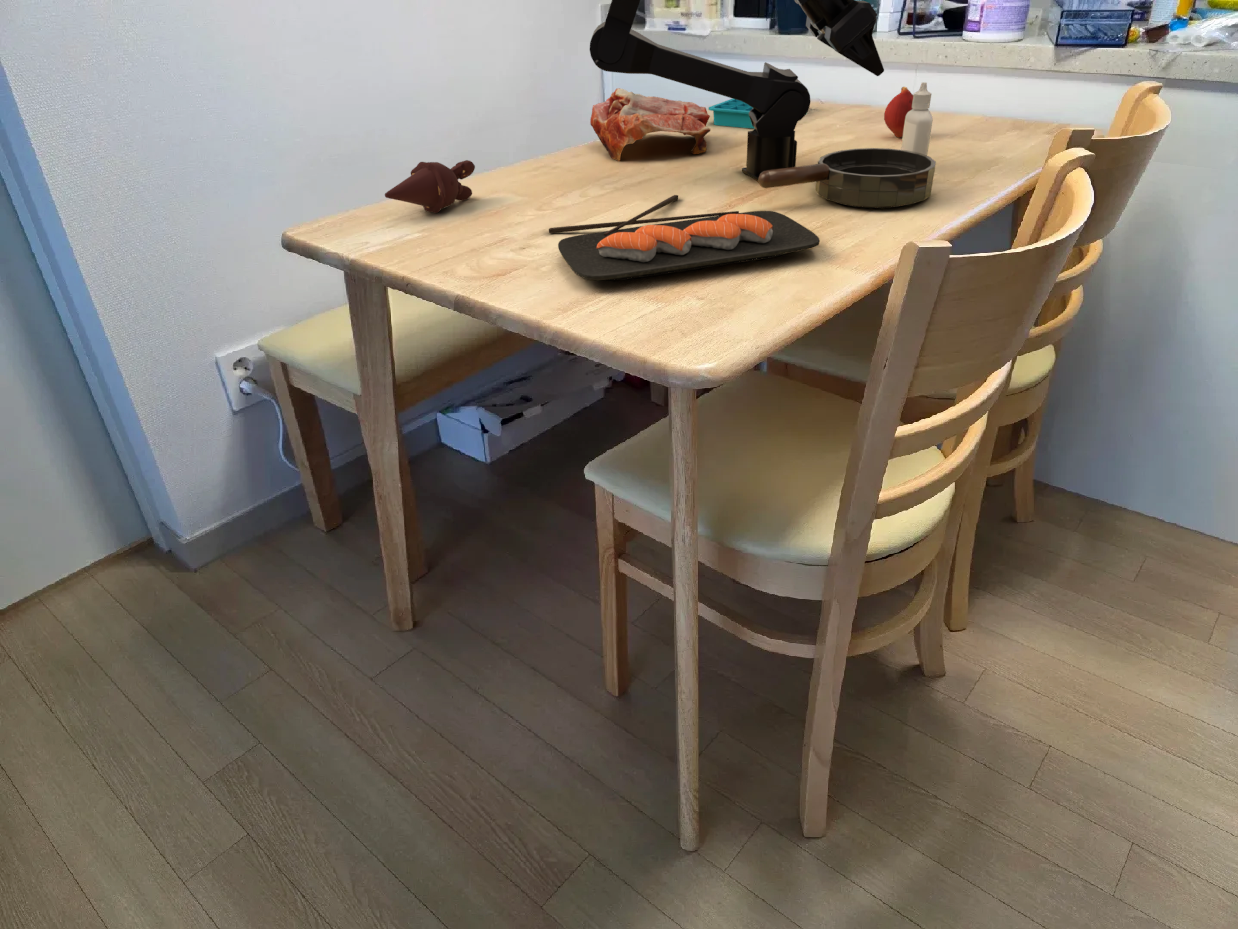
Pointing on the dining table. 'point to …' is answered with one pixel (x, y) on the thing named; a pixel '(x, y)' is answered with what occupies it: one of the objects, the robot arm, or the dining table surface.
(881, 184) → the dark frying pan
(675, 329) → the dining table surface
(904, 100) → the onion
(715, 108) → the ice cube tray
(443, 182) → the icecream
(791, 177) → the handle
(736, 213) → the sushi plate
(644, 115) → the meat
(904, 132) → the eye dropper bottle
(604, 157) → the dining table surface
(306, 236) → the dining table surface
